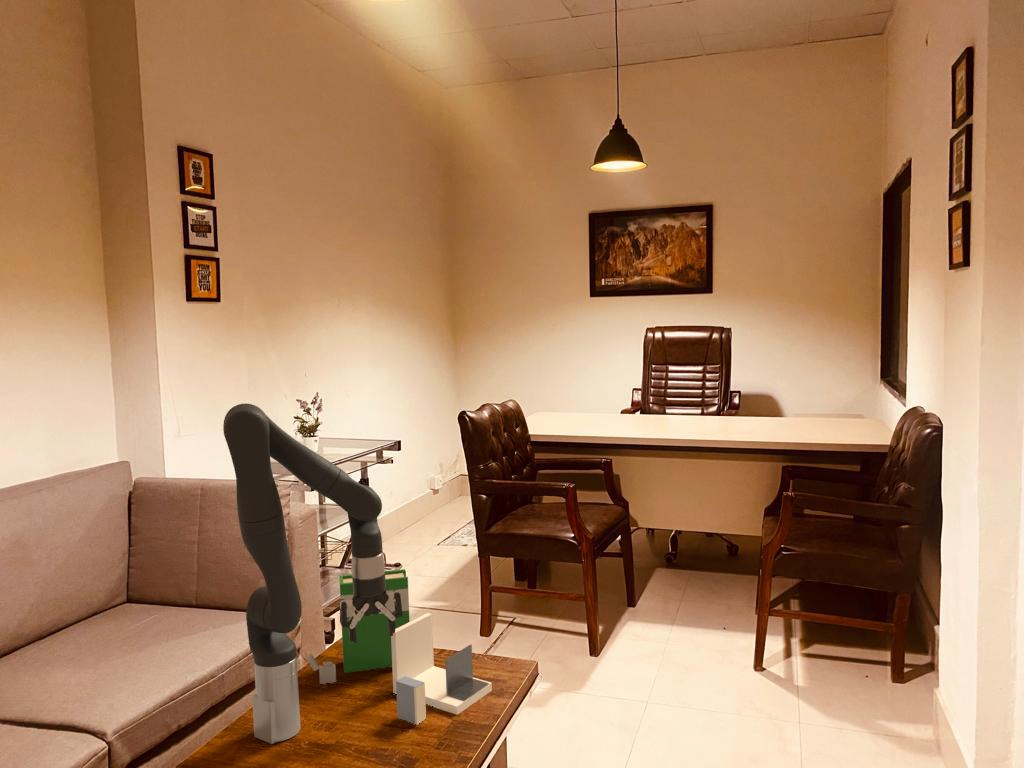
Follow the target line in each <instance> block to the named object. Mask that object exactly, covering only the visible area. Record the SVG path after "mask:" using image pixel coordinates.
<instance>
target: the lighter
mask: <svg viewBox="0 0 1024 768" xmlns="http://www.w3.org/2000/svg"><path fill="white" fill-rule="evenodd" d="M305 657H306V658H305V659H306V660H307V661H308V663H309V666H310V667H311V668H312V671H313V672H316V671H317V670H318V673H319V674H318V676H319V677H318V679H319V685H320V684H323V685H327V684H326V683H330V684H335V683H334V682H336V683H337V668H336V663H333V661H323V663H322V665H320V664H319V663H318V662H317V661H316V659H315V657H314V656H313V654H312V652H310V653H308V654H307V655H306V656H305Z"/></svg>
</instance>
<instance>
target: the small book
mask: <svg viewBox="0 0 1024 768" xmlns="http://www.w3.org/2000/svg"><path fill="white" fill-rule="evenodd" d="M396 694H397V695H396V712H397V713H396V716H397V717H396V719H397V718H400V719H403V720H406V721H408V722H407V723H409V722H411V723H410V724H412V723H414V724H413V725H415V724H416V725H415V726H419V725H420V724H422V723H423V722H425V721H426V720H427V710H426V709H427V708H426V706H427V705H426V703H425V683H424V682H422V681H419V680H415V679H412V678H409V677H406V676H404V677H402V678H401V679H399V680H397V681H396ZM400 719H399V720H400ZM425 719H426V720H425ZM403 720H402V721H403ZM406 721H405V722H406ZM422 721H423V722H422ZM419 723H420V724H419Z"/></svg>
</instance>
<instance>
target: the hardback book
mask: <svg viewBox="0 0 1024 768" xmlns="http://www.w3.org/2000/svg"><path fill="white" fill-rule="evenodd" d="M338 579H339V594H340V595H339V598H340V600H341V599H344V600H352V598H353V581H352V573H351V574H342V575H339V578H338ZM385 580H386V592H387V593H390V592H393V591H394V590H395V589H396V590H398V592H399V593H400V597H401V605H402V613H403V615H402V616H401V617H398V618H396V619H395V629H397V628H399V627H401V626H403V625H405V624H407V623H409V622H411V620H410V598H409V577H408V576H406V569H405V568H403V569H395V570H394V569H392V570H385ZM340 600H339V601H340ZM385 606H386V607H387V608H388V609H389V610H390V611H391V612H393V611H395V605H394V602H393V601H392V600H391V598H389V599H388V601H387V602H386V604H385ZM354 610H355V607H354V606H353V605H351V606H350V608H349V610H347V620H349V619H350V618H351V616H352V613H353V611H354ZM387 618H388V617H387V616H386V615H385V614H384V613H383V612H382V611H381V612H380V613H379V614H376V615H375V614H372V615H369V616H364V615H363V616H362V618H361V619H360V621H358V623H357V624H356V626H355V628H356V640H357V643H354V644H353V641H351V640H350V638H349V629H348V628H347V627H345V628H343V627H342V626H341V640H342V661H343V663H342V664H343V674H348V673H357V671H358V672H364V671H363V670H366V671H370V670H369V669H374V670H377V669H376V668H381V669H383V668H382V667H389V668H392V667H391V666H392V646H391V636H389V634H388V622H387Z"/></svg>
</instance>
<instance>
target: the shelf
mask: <svg viewBox="0 0 1024 768" xmlns="http://www.w3.org/2000/svg"><path fill="white" fill-rule="evenodd" d="M391 646H392V667H391V668H392V689H393V690H392V693H395V694H396V681H397V680H399V679H401V678H402V677H404V676H406V677H409V678H412V679H415V680H419V681H422V682H424V683H425V703H426V704H428V705H427V706H429V705H430V706H429V707H432V706H433V708H435V709H438V710H441V711H444V712H447V713H450V714H454V715H457V716H458V715H459V714H460V713H462V712H464V711H466V709H468V708H469V707H471V706H473V704H475V703H477V702H478V701H479V700H481V699H482V698H484V697H485V696H486V695H488V694H490V693H491V692H492V691H493V683H492V682H491V681H487V680H483V679H480V678H477V677H473V679H476V680H480V681H483V682H487V683H489V685H487V686H486V687H484V688H483V689H482V690H480V691H479V692H477V693H476V694H474V695H473V696H471V697H470V698H468V699H467V700H465V701H462V700H459V699H456V698H453V697H450V696H447V693H446V668H442V667H438V666H435V664H434V663H435V659H434V657H435V656H434V631H433V614H432V613H430V612H427V613H425V614H422V615H420V616H418V617H417V618H415V619H413V620H410V622H409V623H407V624H405V625H403V626H401V627H399V628H397V629H395V633H393V636H391ZM395 694H394V695H395Z"/></svg>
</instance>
